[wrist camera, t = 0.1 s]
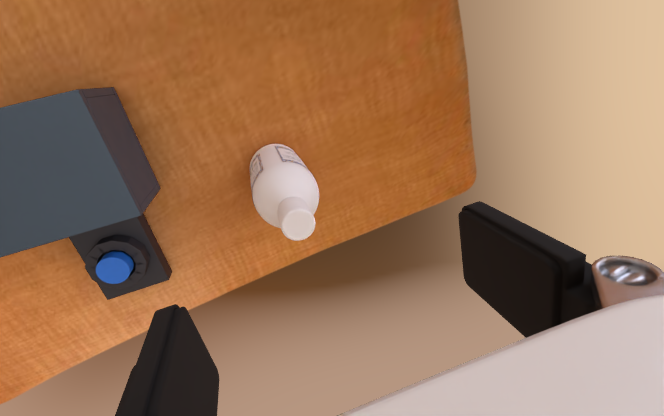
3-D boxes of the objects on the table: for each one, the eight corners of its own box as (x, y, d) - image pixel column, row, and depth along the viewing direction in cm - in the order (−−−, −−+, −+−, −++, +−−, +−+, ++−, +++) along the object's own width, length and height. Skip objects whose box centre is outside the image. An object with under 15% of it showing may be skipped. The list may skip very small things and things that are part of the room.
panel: (74, 227, 43) (59, 240, 39) (140, 208, 44) (131, 219, 40) (113, 290, 47) (102, 308, 43) (172, 271, 48) (166, 287, 44)
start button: (95, 256, 41) (89, 263, 40) (125, 246, 42) (121, 253, 40) (109, 280, 43) (104, 288, 41) (139, 270, 43) (135, 278, 41)
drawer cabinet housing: (39, 223, 42) (-14, 261, 33) (-27, 120, 37) (-110, 134, 28) (160, 188, 44) (141, 215, 35) (113, 86, 39) (77, 89, 30)
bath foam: (262, 200, 48) (276, 275, 29) (240, 154, 45) (241, 206, 27) (307, 181, 48) (349, 242, 30) (289, 135, 45) (323, 172, 27)
